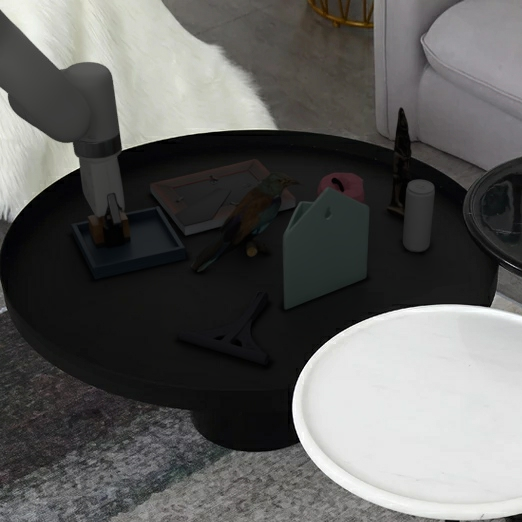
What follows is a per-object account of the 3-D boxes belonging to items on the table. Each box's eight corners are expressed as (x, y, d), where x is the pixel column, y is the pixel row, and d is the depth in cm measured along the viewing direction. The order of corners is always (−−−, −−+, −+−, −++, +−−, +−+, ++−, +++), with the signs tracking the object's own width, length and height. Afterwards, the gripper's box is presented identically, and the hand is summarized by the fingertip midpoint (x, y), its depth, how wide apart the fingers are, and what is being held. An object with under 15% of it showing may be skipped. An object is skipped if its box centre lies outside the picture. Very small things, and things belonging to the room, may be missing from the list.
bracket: (305, 313, 160) (305, 298, 158) (264, 367, 149) (263, 352, 147) (225, 291, 163) (224, 277, 161) (179, 342, 153) (177, 328, 151)
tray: (94, 279, 164) (92, 268, 162) (73, 235, 173) (70, 223, 172) (186, 259, 170) (185, 247, 168) (160, 217, 179) (158, 205, 178)
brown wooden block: (96, 249, 169) (92, 226, 166) (91, 238, 171) (87, 216, 169) (131, 241, 171) (128, 218, 168) (125, 231, 174) (122, 208, 171)
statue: (412, 226, 181) (420, 124, 168) (382, 212, 184) (388, 111, 171) (426, 218, 183) (435, 117, 170) (396, 203, 187) (403, 103, 174)
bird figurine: (209, 285, 163) (257, 173, 157) (177, 259, 168) (223, 149, 163) (268, 296, 173) (315, 191, 167) (236, 271, 179) (281, 168, 173)
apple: (363, 238, 177) (365, 189, 170) (314, 235, 177) (315, 186, 170) (365, 210, 184) (368, 162, 178) (319, 207, 184) (319, 159, 178)
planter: (340, 256, 172) (342, 152, 160) (367, 278, 168) (372, 173, 155) (259, 286, 165) (255, 180, 152) (285, 310, 160) (283, 203, 147)
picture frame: (185, 237, 175) (295, 209, 183) (184, 225, 173) (295, 197, 182) (151, 194, 185) (256, 169, 194) (149, 182, 183) (256, 157, 192)
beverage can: (420, 256, 173) (426, 196, 166) (397, 247, 175) (401, 187, 167) (434, 244, 177) (440, 184, 169) (411, 235, 178) (415, 176, 171)
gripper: (60, 124, 164) (77, 220, 176) (87, 170, 153) (103, 269, 165) (106, 116, 166) (119, 211, 178) (135, 161, 155) (147, 259, 167)
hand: (111, 238), depth 171 cm, fingers closed on brown wooden block, 3 cm apart
